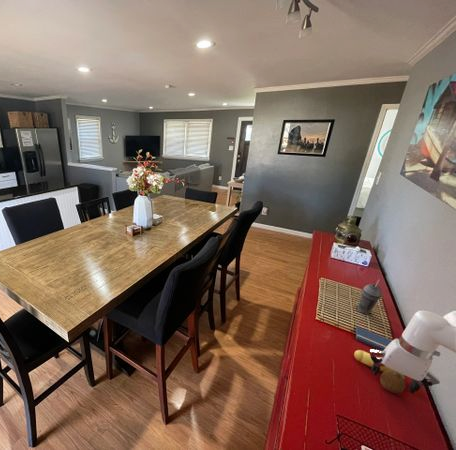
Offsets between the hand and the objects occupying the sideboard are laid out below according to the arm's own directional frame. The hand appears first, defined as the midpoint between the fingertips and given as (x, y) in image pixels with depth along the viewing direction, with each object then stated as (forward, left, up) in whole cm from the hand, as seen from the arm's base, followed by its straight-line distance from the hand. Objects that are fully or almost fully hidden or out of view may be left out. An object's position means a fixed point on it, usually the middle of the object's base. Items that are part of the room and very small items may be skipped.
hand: (392, 380), depth 83 cm
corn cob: (+3, -8, -4) cm, 9 cm away
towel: (+3, -24, -4) cm, 25 cm away
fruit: (0, 0, -4) cm, 4 cm away
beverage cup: (+6, -45, -4) cm, 46 cm away
